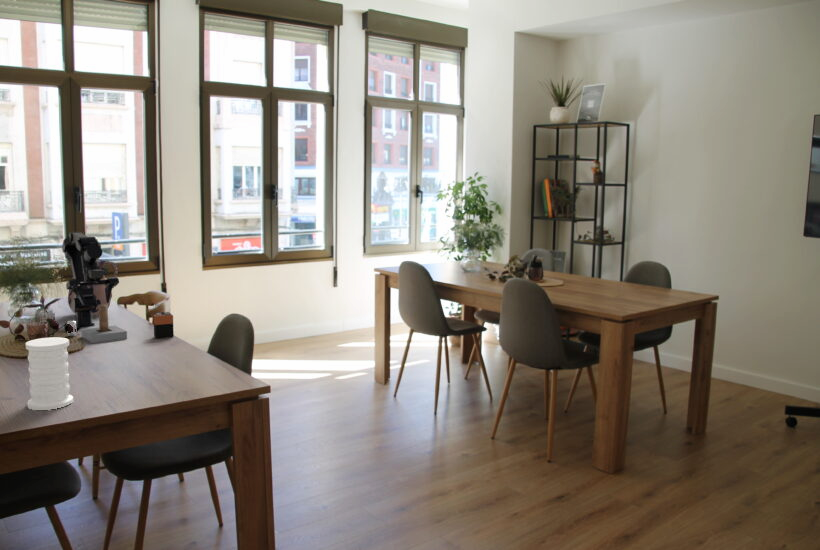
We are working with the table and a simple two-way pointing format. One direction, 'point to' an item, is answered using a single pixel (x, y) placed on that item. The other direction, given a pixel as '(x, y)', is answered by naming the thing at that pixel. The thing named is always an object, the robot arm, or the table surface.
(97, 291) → the ceramic pitcher
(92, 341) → the hole plate
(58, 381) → the decorative container
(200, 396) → the table surface
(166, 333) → the battery
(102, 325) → the walnut pin
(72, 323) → the steel pin
